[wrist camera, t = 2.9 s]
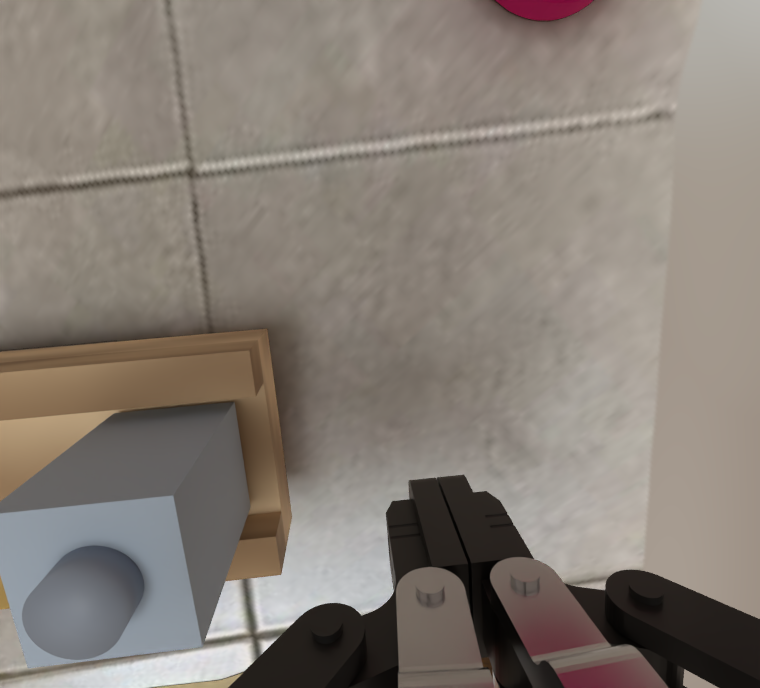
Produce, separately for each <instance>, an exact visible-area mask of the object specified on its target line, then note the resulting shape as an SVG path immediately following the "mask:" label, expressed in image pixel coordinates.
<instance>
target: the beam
mask: <svg viewBox="0 0 760 688" xmlns="http://www.w3.org/2000/svg"><path fill="white" fill-rule="evenodd" d="M227 402H235V408H236V415H237V421H238V428H239V434H240V441H241V447H242V454H243V460H244V467H245V473H246V480H247V486H248V493H249V500H250V506H251V507H250V510H249V513H248V516H247V519H246V522H245V525H244V528H243V530H242V533H241V536H240V539H239V542H238V545H237V548H236V551H235V554H234V557H233V560H232V563H231V565H230V568H229V571H228V574H227V577H226V580H225V581H231V580H239V579H248V578H257V577H266V576H274V575H281V573H282V567H283V562H284V557H285V551H286V546H287V540H288V535H289V530H290V524H291V519H292V513H291V506H290V498H289V491H288V483H287V475H286V468H285V460H284V453H283V445H282V437H281V430H280V422H279V415H278V407H277V399H276V392H275V384H274V377H273V369H272V361H271V354H270V346H269V339H268V331H267V329H257V330H246V331H234V332H223V333H211V334H200V335H188V336H177V337H165V338H154V339H142V340H131V341H119V342H117V341H109V342H97V343H86V344H74V345H63V346H51V347H40V348H28V349H17V350H5V351H0V501H2V500H3V499H4V498H5V497H7V496H8V495H9V494H11V493H12V492H13V491H14V490H16V489H17V488H18V487H20V486H21V485H22V484H23V483H25V482H26V481H27V480H29V479H30V478H31V477H32V476H34V475H35V474H36V473H38V472H39V471H40V470H41V469H43V468H44V467H45V466H47V465H48V464H49V463H51V462H52V461H53V460H54V459H56V458H57V457H58V456H60V455H61V454H62V453H63V452H65V451H66V450H67V449H69V448H70V447H71V446H72V445H74V444H75V443H76V442H78V441H79V440H80V439H81V438H83V437H84V436H85V435H87V434H88V433H89V432H90V431H92V430H93V429H94V428H96V427H97V426H98V425H99V424H101V423H102V422H103V421H105V420H106V419H107V418H108V417H110V416H111V415H112V414H114V413H121V412H132V411H142V410H153V409H163V408H174V407H184V406H195V405H206V404H216V403H227ZM8 608H10V606H9V603H8V599H7V596H6V593H5V589H4V586H3V583H2V579H1V576H0V609H8Z"/></svg>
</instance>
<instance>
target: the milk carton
mask: <svg viewBox="0 0 760 688" xmlns="http://www.w3.org/2000/svg"><path fill="white" fill-rule="evenodd" d="M241 674H242V673H241ZM241 674H238V675H235V676H232V677H229V678H226V679H223V680H217V681H208V682H199V683H190V684H181V685H172V686H164V687H155V688H228V687H229V686H230V685H231V684H232V683H233V682H234V681H235V680H236V679H237V678H238V677H239V676H240V675H241Z"/></svg>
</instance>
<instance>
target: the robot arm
mask: <svg viewBox="0 0 760 688" xmlns="http://www.w3.org/2000/svg"><path fill="white" fill-rule="evenodd" d="M386 520H387V532H388V545H389V557H390V567H391V574H392V582H393V589H394V593H393V595H392V596H391V598H390V599H389V600H388V601H387V602H386V603H385V604H384V605H383V606H381V607H380V608H378V609H377V610H375V611H372V612H370V613H368V614H365V615H363V616H361V615H360V614H359V612H358V611H356V610H355V609H354V608H352V607H350V606H348V605H345V604H340V603H328V604H323V605H319V606H316V607H314V608H312V609H310V610H308V611H307V612H305V613H304V614H303V615H302V616H300V617H299V618H298V619H297V620H296V621H295V622H294V623H293V624H292V625H291V626H290V627H289V628H288V629H287V630H286V631H285V632H284V633H283V634H282V635H281V636H280V637H279V638H278V639H277V640H276V641H275V642H274V643H273V644H272V645H271V646H270V647H269V648H268V649H267V650H266V651H265V652H264V653H263V654H262V655H261V656H260V657H259V658H258V659H257V660H256V661H255V662H254V663H253V664H252V665H251V666H250V667H249V668H248V669H247V670H245V671H244V672H243V673H242V674H241V675H240V676H239V677H238V678H237V679H236V680H235V681H234V682H233V683H232V684H231V685H230V686H229V687H228V688H686V687H685V686H683V677H684V669H686V670H687V671H689V672H691V673H693V674H695V675H697V676H699V677H700V678H702V679H704V680H706V681H708V682H710V683H712V684H713V685H715V686H717V687H719V688H760V619H758V618H755V617H753V616H751V615H748V614H746V613H744V612H742V611H739V610H737V609H735V608H732V607H729V606H728V605H725V604H723V603H721V602H718V601H716V600H714V599H711V598H709V597H707V596H704V595H702V594H700V593H697V592H695V591H693V590H691V589H688V588H686V587H684V586H681V585H679V584H677V583H674V582H672V581H670V580H667V579H664V578H663V577H660V576H658V575H655V574H653V573H649V572H645V571H640V570H623V571H618V572H616V573H614V574H612V575H611V576H610V577H609V578H608V579H607V581H606V589H605V590H598V589H590V588H582V587H576V586H571V585H568V584H565V583H563V581H562V580H561V579H560V577H559V576H558V575H557V573H556V572H555V571H554V570H553V569H552V568H551V567H549V566H548V565H546V564H544V563H542V562H540V561H538V560H535V559H534V558H533V556H532V555H531V553H530V551H529V549H528V548H527V546H526V544H525V543H524V541H523V539H522V538H521V536H520V534H519V532H518V531H517V529H516V527H515V526H513V522H512V521H511V519H510V517H509V515H507V512H506V510H505V509H504V507H503V505H502V503H501V502H500V501H499V500H498V499H497V498H495V497H494V496H492V495H491V494H489V493H488V492H487V491H484V492H474V493H473V491H472V489H471V487H470V485H469V483H468V481H467V479H466V477H465V476H464V475H456V476H447V477H437V480H436V478H428V479H419V480H409V500H400V501H392V503H391V505H390V507H389V508H388V510H387V512H386ZM485 657H489V660H490V663H491V665H492V669H493V679H492V676H491V672H490V670H489V668H488V667H483V664H482V660H481V658H485Z"/></svg>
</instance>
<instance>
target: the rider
mask: <svg viewBox="0 0 760 688" xmlns="http://www.w3.org/2000/svg"><path fill="white" fill-rule="evenodd" d="M250 507H251V506H250V500H249V493H248V486H247V480H246V473H245V467H244V460H243V454H242V447H241V441H240V434H239V428H238V421H237V415H236V408H235V402H227V403H216V404H206V405H195V406H184V407H174V408H163V409H153V410H142V411H132V412H121V413H114V414H112V415H111V416H110V417H108V418H107V419H106V420H105V421H103V422H102V423H101V424H99V425H98V426H97V427H96V428H94V429H93V430H92V431H90V432H89V433H88V434H87V435H85V436H84V437H83V438H81V439H80V440H79V441H78V442H76V443H75V444H74V445H72V446H71V447H70V448H69V449H67V450H66V451H65V452H63V453H62V454H61V455H60V456H58V457H57V458H56V459H54V460H53V461H52V462H51V463H49V464H48V465H47V466H45V467H44V468H43V469H41V470H40V471H39V472H38V473H36V474H35V475H34V476H32V477H31V478H30V479H29V480H27V481H26V482H25V483H23V484H22V485H21V486H20V487H18V488H17V489H16V490H14V491H13V492H12V493H11V494H9V495H8V496H7V497H5V498H4V499H3V500H2V501H0V576H1V579H2V583H3V586H4V589H5V593H6V596H7V599H8V603H9V606H10V610H11V613H12V616H13V620H14V623H15V626H16V630H17V633H18V636H19V640H20V643H21V647H22V650H23V653H24V657H25V660H26V663H27V667H28V668H34V667H43V666H51V665H59V664H67V663H75V662H84V661H92V660H100V659H108V658H117V657H125V656H133V655H141V654H149V653H158V652H166V651H174V650H182V649H191V648H199V647H203V644H204V641H205V638H206V635H207V632H208V629H209V627H210V624H211V621H212V618H213V615H214V612H215V609H216V606H217V603H218V600H219V597H220V595H221V592H222V589H223V586H224V583H225V580H226V577H227V574H228V571H229V568H230V565H231V563H232V560H233V557H234V554H235V551H236V548H237V545H238V542H239V539H240V536H241V533H242V530H243V528H244V525H245V522H246V519H247V516H248V513H249V510H250Z"/></svg>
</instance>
